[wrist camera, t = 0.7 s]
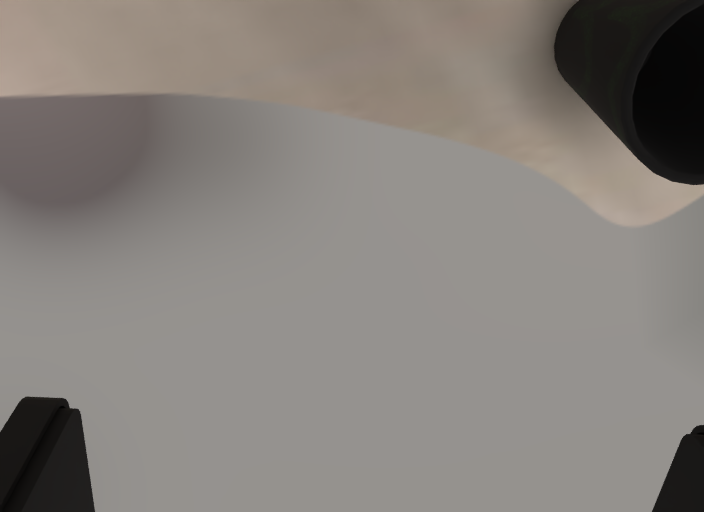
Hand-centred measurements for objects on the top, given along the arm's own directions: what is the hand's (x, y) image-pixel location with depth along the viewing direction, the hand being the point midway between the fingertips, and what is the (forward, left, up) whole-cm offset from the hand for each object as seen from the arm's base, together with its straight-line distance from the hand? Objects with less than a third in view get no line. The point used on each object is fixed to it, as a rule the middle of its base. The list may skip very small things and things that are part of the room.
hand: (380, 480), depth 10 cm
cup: (-4, +14, -29) cm, 33 cm away
